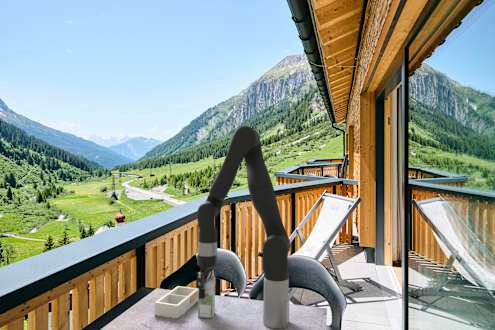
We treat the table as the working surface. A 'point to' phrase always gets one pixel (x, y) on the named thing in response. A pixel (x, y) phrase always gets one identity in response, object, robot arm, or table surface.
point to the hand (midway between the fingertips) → (206, 294)
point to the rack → (176, 302)
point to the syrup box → (207, 300)
